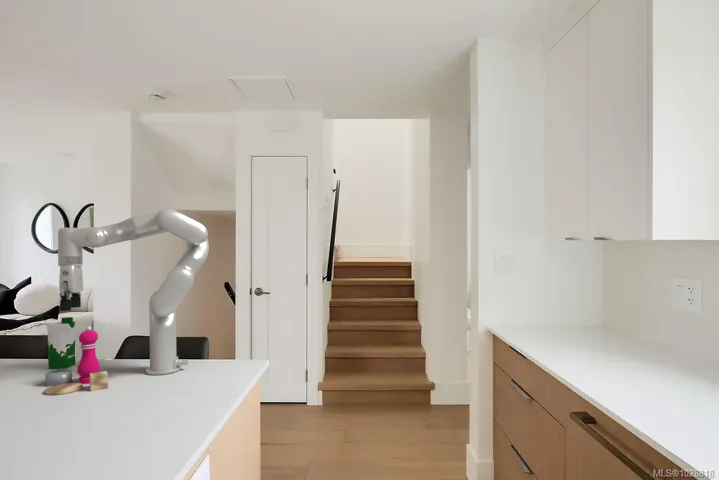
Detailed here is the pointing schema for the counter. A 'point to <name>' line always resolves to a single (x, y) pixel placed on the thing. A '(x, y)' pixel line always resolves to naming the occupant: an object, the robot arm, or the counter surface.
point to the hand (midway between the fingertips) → (70, 309)
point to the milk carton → (61, 344)
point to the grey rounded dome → (58, 377)
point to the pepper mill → (88, 355)
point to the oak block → (98, 381)
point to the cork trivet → (63, 389)
